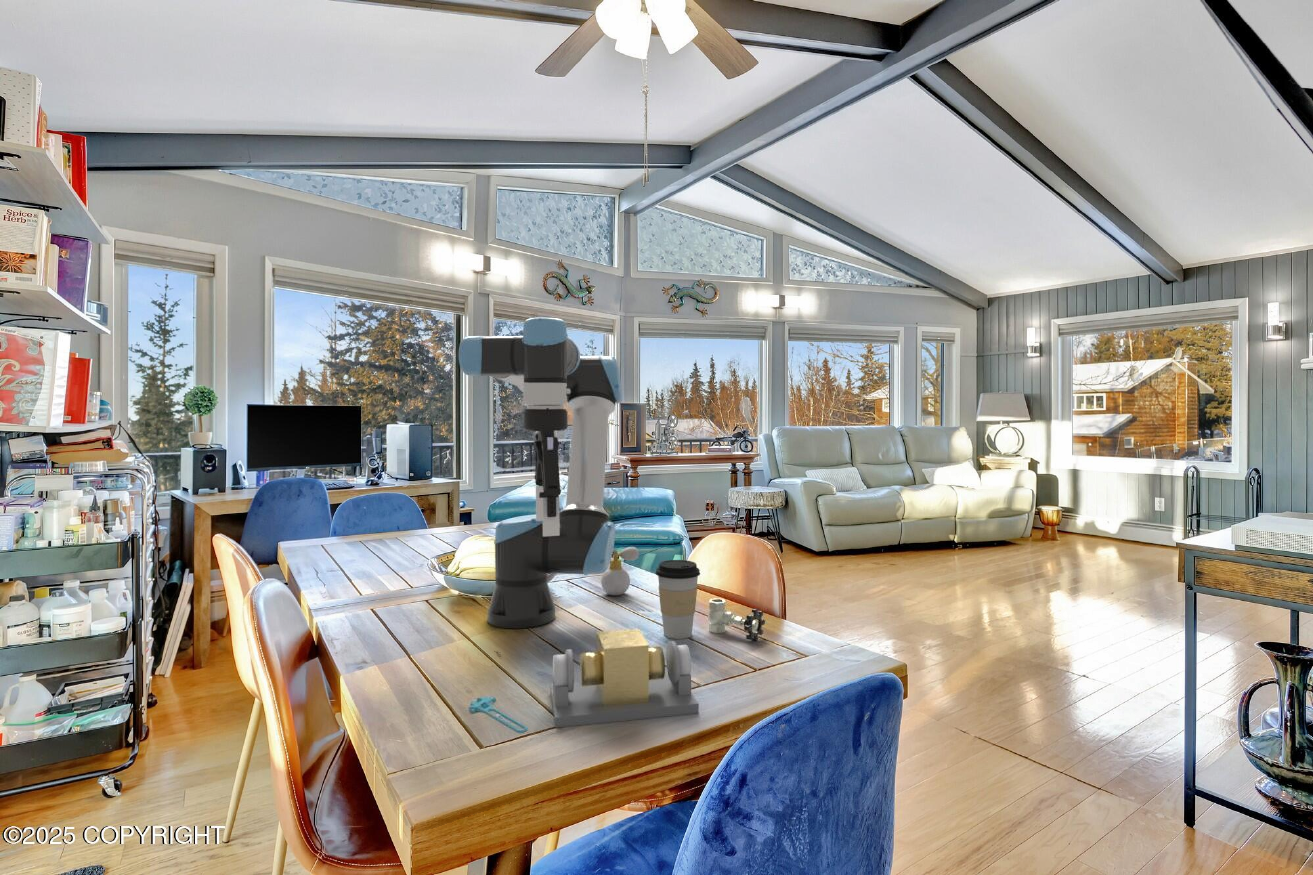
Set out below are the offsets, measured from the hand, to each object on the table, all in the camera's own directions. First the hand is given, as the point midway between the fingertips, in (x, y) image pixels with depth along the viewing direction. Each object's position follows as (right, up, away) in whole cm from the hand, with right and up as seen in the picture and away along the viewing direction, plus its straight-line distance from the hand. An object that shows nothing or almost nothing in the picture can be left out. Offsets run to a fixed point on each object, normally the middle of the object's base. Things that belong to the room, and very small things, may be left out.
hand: (547, 527), depth 114 cm
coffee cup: (+24, -26, +22) cm, 42 cm away
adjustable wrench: (-5, -27, -15) cm, 32 cm away
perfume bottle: (+9, -25, +54) cm, 60 cm away
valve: (+35, -26, +22) cm, 49 cm away
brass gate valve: (+14, -25, -11) cm, 31 cm away
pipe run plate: (+14, -27, -11) cm, 32 cm away
